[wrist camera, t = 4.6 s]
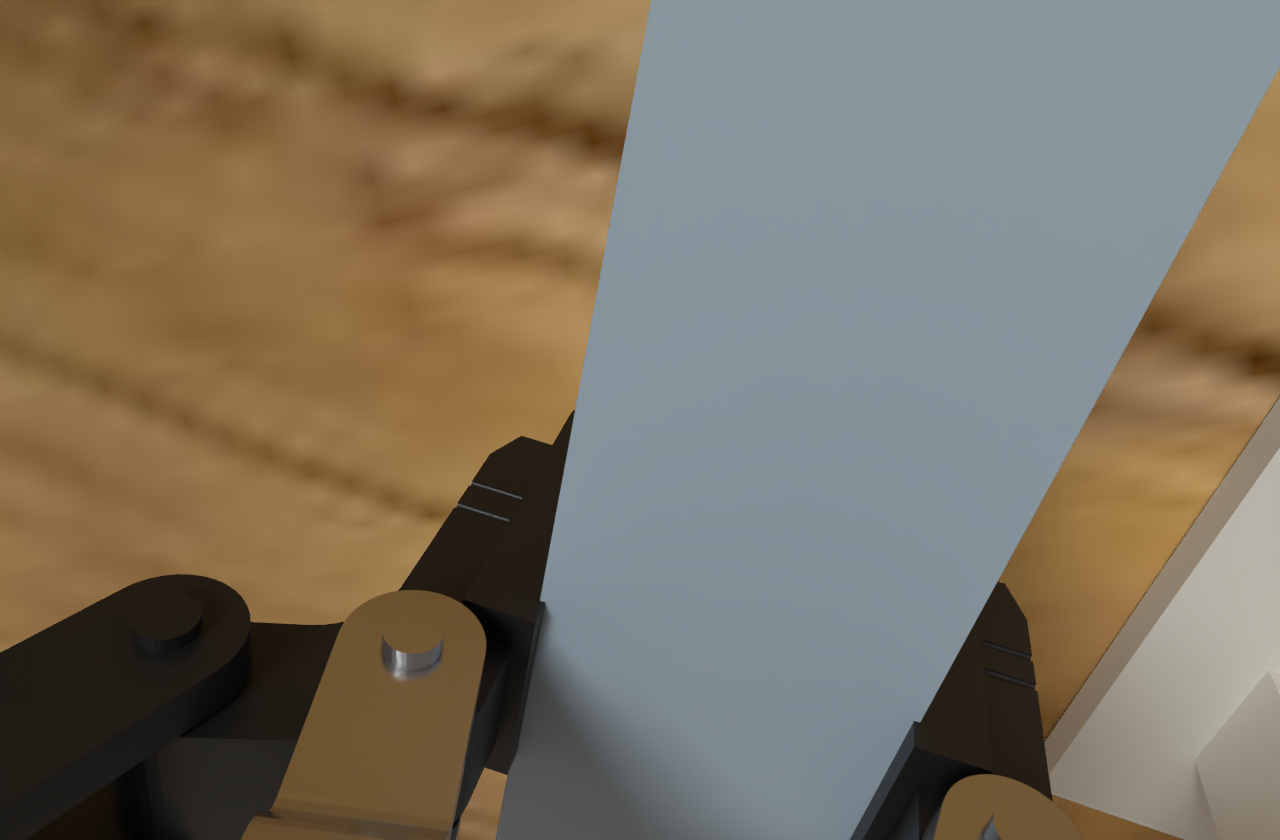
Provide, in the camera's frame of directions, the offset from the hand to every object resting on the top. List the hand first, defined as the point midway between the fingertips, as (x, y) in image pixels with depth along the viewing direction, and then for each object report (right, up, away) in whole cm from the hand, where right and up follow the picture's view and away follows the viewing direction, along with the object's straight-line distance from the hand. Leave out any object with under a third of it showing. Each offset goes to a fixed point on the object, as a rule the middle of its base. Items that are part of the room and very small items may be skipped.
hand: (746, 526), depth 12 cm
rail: (0, +1, +1) cm, 1 cm away
